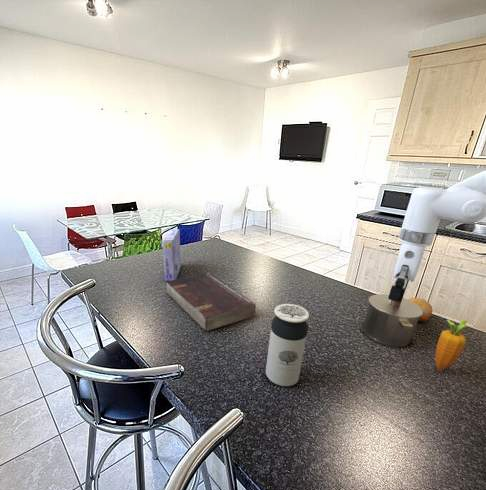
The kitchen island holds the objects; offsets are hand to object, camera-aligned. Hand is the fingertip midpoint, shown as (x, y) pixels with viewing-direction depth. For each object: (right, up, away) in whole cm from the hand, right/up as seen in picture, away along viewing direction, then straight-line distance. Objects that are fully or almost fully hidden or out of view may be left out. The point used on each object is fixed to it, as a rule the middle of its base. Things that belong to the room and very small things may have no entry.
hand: (397, 294), depth 83 cm
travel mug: (-36, -19, -12) cm, 42 cm away
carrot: (+5, -19, -9) cm, 22 cm away
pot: (0, -12, +5) cm, 14 cm away
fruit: (+14, -9, +14) cm, 22 cm away
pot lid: (0, -4, +2) cm, 4 cm away
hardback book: (-54, -5, +20) cm, 58 cm away
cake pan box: (-70, +6, +45) cm, 83 cm away
